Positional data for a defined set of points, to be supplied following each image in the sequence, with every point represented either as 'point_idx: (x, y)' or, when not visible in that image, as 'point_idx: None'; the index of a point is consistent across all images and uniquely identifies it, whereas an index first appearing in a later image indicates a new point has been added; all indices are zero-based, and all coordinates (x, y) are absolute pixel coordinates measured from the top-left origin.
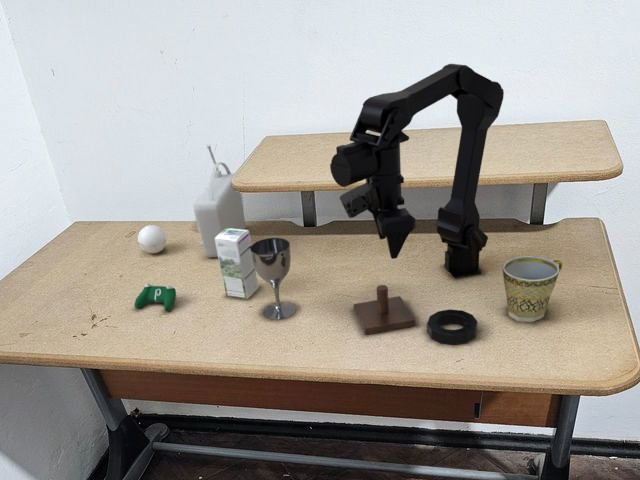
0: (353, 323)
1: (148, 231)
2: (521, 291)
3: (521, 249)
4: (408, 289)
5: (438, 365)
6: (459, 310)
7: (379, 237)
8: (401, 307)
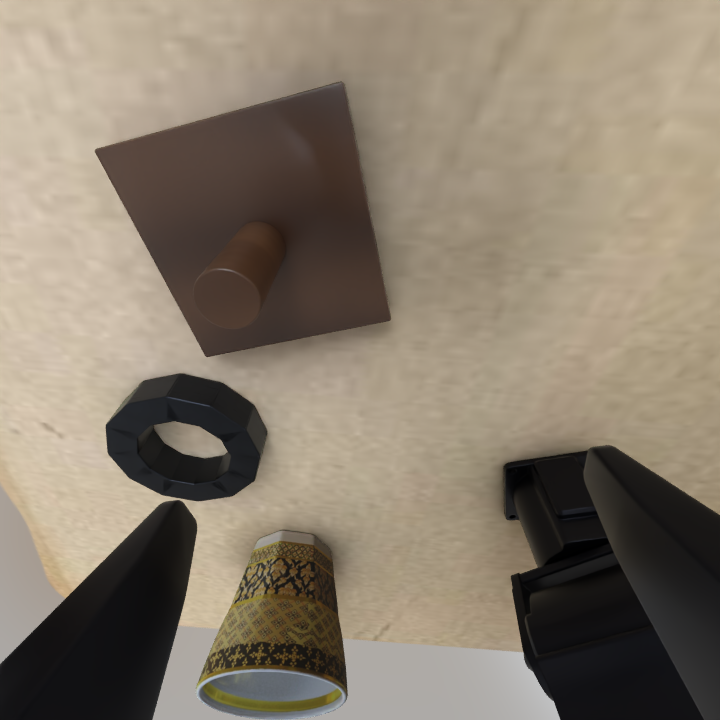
0: (212, 79)
1: None
2: (216, 637)
3: None
4: (480, 340)
5: (4, 384)
6: (253, 475)
7: (611, 454)
8: (295, 320)
